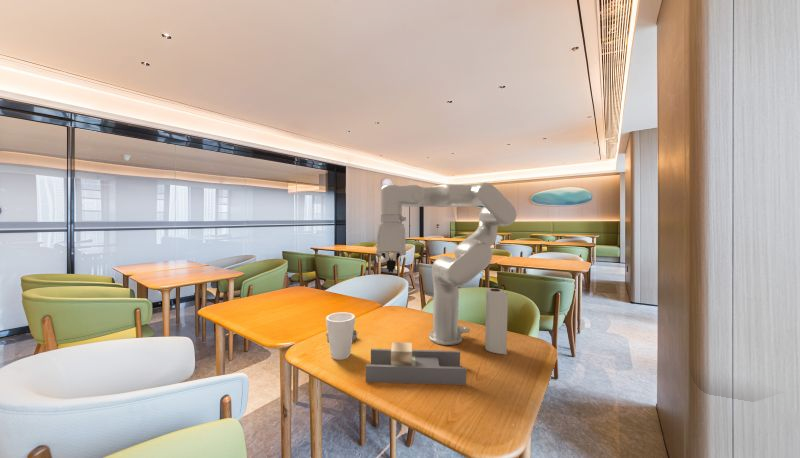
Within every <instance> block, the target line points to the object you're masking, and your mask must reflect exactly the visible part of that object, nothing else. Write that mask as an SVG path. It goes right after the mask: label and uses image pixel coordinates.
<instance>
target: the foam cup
mask: <svg viewBox="0 0 800 458" xmlns="http://www.w3.org/2000/svg"><path fill="white" fill-rule="evenodd" d="M355 324H356V316H355V314H354V313H351V312H345V311H343V312H342V311H341V312H333V313H331V314H328V315H327V316H326V317H325V326H326V330H327V333H328V338H329V343H328V344H329V352H330V356H331V358H332V359H333V360H344V359H347V358H349V357H350V356H351V351H352V344H353V340H352V337H353V330H355Z"/></svg>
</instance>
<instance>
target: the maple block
mask: <svg viewBox="0 0 800 458" xmlns="http://www.w3.org/2000/svg"><path fill="white" fill-rule="evenodd" d="M390 349H391V365H406V366H412V350H413V342H391V348H390Z"/></svg>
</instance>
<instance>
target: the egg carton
mask: <svg viewBox="0 0 800 458" xmlns="http://www.w3.org/2000/svg"><path fill="white" fill-rule="evenodd" d="M358 334H359V332H357V330H356V329H354V330H353V337H352V342H353V341H356V339H357V335H358ZM325 336H327V338H326V342H327V343H328V344H329V338H328V332H327V333H325Z"/></svg>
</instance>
